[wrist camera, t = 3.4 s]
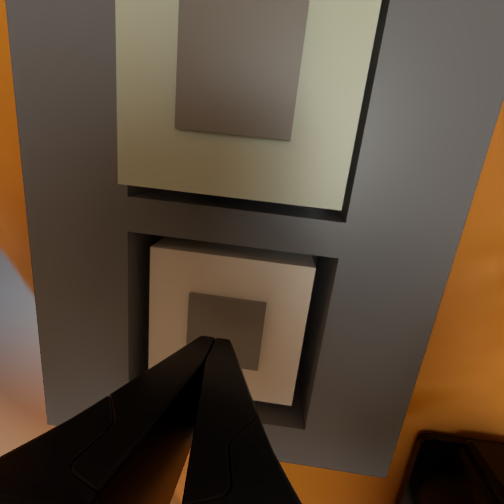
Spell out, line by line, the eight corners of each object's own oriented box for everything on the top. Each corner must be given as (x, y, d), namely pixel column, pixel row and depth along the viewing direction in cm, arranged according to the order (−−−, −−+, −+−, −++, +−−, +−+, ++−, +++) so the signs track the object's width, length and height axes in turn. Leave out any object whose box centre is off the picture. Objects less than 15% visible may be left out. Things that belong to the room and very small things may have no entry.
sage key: (322, 196, 10) (342, 211, 7) (164, 177, 10) (114, 184, 7) (355, 5, 8) (399, -85, 5) (169, -11, 8) (109, -107, 5)
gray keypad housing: (352, 379, 15) (386, 477, 11) (116, 345, 16) (47, 424, 11) (515, -300, 9) (797, -847, 4) (104, -317, 9) (-77, -812, 5)
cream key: (288, 353, 13) (291, 409, 10) (175, 337, 14) (146, 387, 11) (307, 242, 12) (316, 269, 9) (180, 226, 12) (148, 247, 9)
